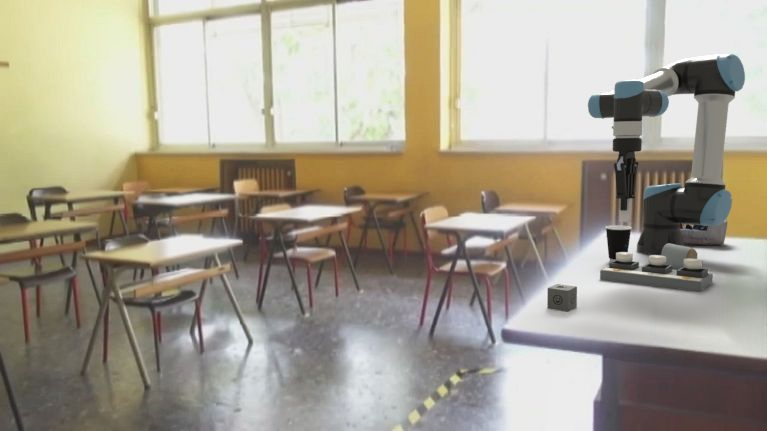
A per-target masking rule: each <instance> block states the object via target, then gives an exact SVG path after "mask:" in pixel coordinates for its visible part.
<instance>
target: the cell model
mask: <svg viewBox="0 0 767 431" xmlns="http://www.w3.org/2000/svg"><path fill="white" fill-rule="evenodd" d="M727 229H728V220H727V218H726V219H725V221H724V222H723V223H722V224H720V225H718V226H702V225H694V224H684V223H680V232H681V235H682V238H683V241H684V244H685V246H694V245H700V246H712V245H713V246H714V245H720V246H721V245H724V244H725V239H726V234H727Z"/></svg>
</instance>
